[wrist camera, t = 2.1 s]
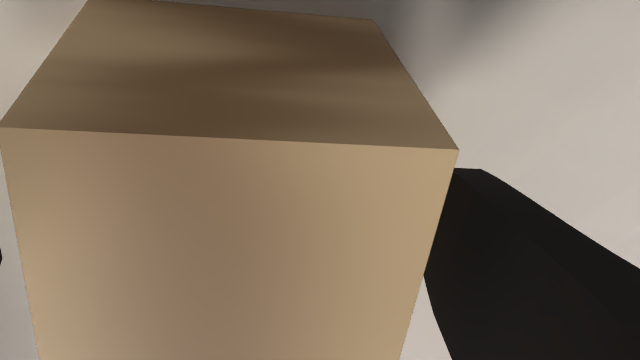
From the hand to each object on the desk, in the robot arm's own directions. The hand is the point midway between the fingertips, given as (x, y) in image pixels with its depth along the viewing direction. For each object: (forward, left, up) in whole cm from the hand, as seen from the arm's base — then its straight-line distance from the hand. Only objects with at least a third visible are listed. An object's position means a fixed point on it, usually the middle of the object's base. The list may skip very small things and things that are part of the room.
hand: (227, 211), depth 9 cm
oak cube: (0, 0, -3) cm, 3 cm away
